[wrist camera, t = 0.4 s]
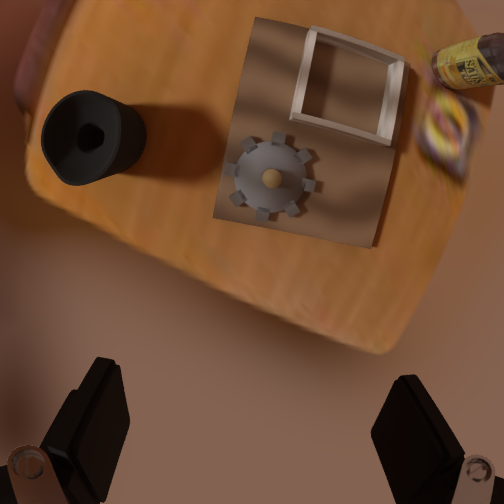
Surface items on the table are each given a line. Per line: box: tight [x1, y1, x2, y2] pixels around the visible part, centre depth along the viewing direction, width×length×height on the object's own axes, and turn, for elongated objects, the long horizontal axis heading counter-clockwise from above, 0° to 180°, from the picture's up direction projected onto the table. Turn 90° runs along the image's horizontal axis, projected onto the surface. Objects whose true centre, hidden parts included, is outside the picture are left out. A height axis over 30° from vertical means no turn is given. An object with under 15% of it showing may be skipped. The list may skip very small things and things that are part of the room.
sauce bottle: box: [432, 33, 504, 90], centre depth 23 cm, size 6×6×20 cm
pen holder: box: [41, 90, 146, 186], centre depth 30 cm, size 9×9×10 cm
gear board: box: [213, 17, 410, 249], centre depth 34 cm, size 25×20×5 cm
